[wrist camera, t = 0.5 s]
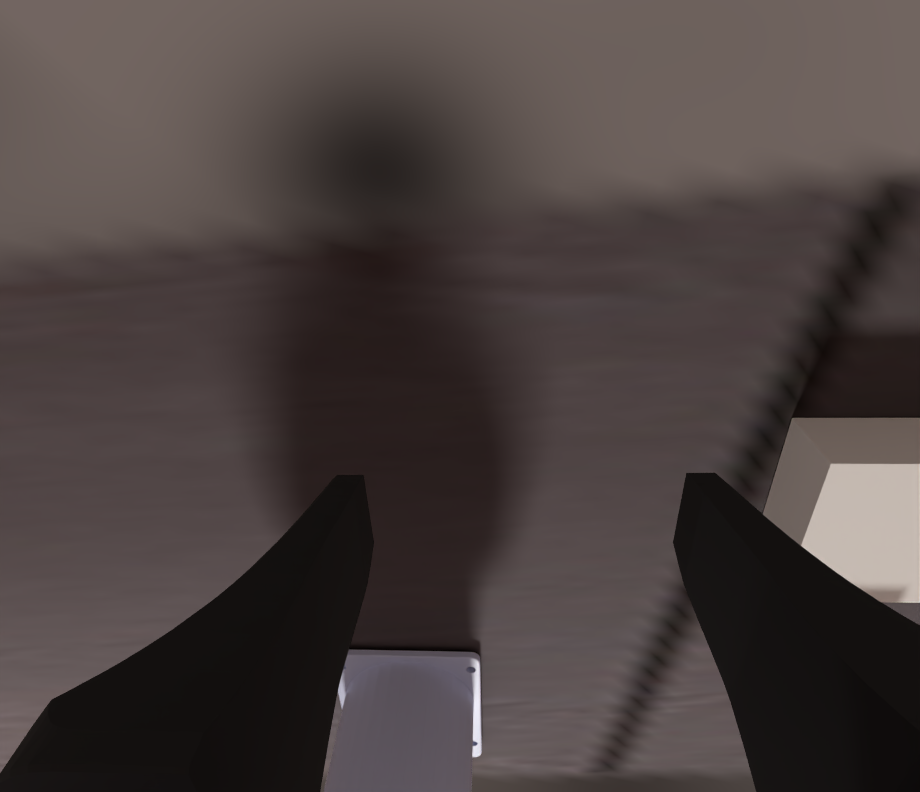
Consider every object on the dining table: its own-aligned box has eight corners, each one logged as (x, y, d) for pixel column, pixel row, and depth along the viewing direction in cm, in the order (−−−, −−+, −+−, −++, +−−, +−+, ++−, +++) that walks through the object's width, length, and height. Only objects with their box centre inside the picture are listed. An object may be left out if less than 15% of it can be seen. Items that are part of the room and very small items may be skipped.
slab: (911, 549, 26) (958, 603, 23) (752, 547, 26) (780, 600, 24) (977, 417, 22) (1040, 464, 20) (792, 417, 23) (830, 463, 20)
